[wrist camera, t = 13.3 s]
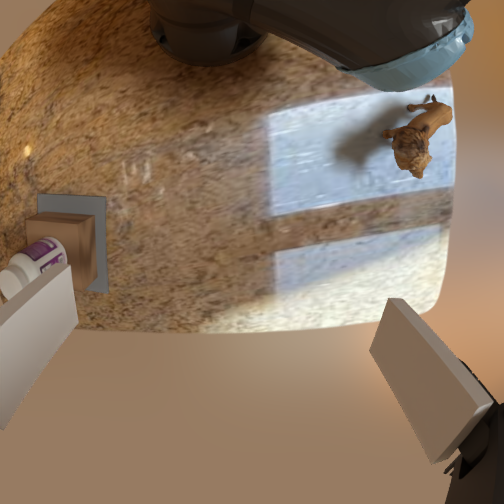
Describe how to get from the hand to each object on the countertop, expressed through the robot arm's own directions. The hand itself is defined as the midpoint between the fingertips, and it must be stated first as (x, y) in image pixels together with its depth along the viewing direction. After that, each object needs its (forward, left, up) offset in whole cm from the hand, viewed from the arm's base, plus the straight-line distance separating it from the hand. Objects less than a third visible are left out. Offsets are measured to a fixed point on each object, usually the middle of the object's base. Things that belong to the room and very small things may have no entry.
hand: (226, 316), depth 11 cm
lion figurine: (-13, +22, -27) cm, 37 cm away
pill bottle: (+8, -23, -22) cm, 32 cm away
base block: (+8, -23, -26) cm, 36 cm away
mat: (+8, -23, -27) cm, 36 cm away
